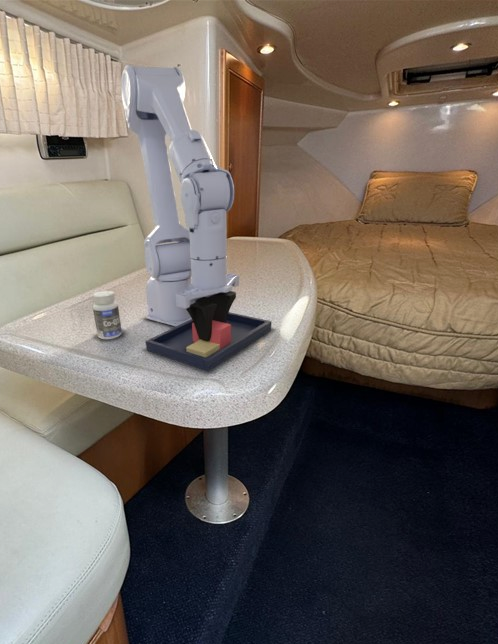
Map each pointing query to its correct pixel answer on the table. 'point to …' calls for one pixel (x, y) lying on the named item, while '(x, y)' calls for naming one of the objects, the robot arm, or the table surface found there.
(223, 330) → the eraser
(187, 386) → the table surface
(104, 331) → the pill bottle
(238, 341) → the tray
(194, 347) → the beige square tile
